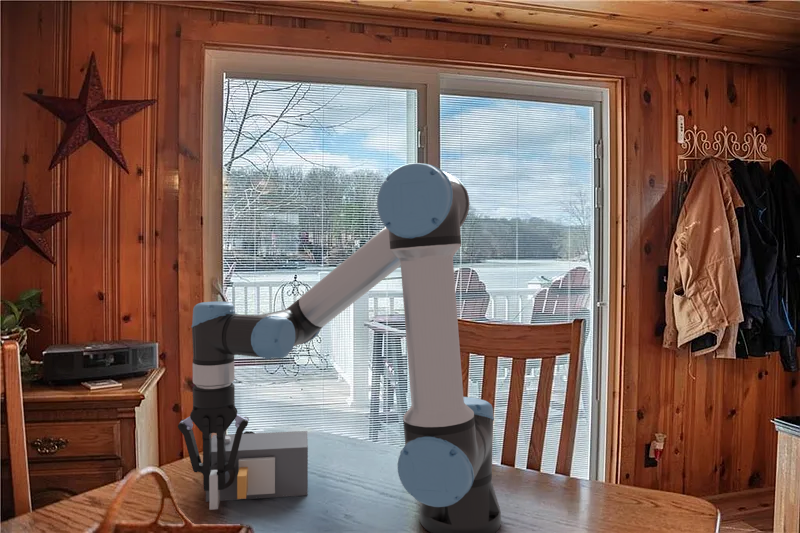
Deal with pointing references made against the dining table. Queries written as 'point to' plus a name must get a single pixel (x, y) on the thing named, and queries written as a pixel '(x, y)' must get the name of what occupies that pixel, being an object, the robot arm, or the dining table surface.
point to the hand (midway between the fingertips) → (214, 505)
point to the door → (256, 476)
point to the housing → (280, 445)
